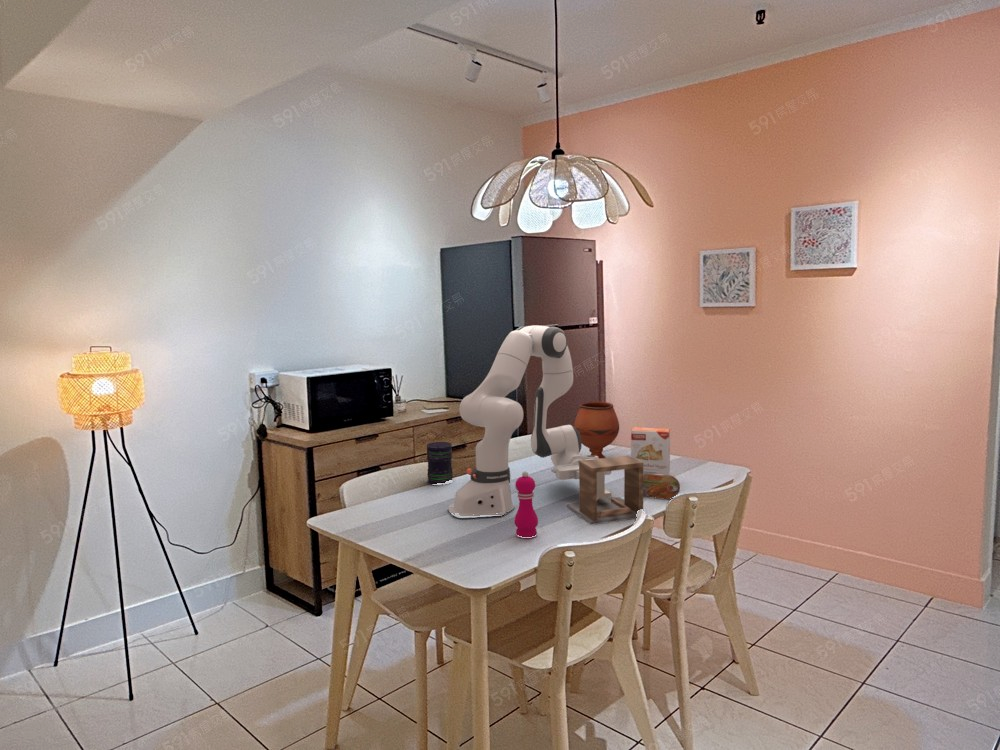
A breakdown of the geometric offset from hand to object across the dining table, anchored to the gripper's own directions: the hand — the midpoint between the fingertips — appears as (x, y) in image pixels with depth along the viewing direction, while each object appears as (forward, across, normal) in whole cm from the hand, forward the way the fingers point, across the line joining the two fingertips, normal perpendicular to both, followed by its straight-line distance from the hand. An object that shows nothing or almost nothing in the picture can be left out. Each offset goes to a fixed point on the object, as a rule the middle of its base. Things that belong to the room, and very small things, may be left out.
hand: (592, 476), depth 236 cm
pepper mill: (+21, -32, +10) cm, 40 cm away
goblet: (-49, +25, +10) cm, 56 cm away
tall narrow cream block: (+2, 0, +6) cm, 6 cm away
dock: (+9, 0, +9) cm, 13 cm away
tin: (+3, +24, +10) cm, 26 cm away
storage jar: (-45, -44, +10) cm, 63 cm away
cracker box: (-13, +30, +10) cm, 34 cm away
